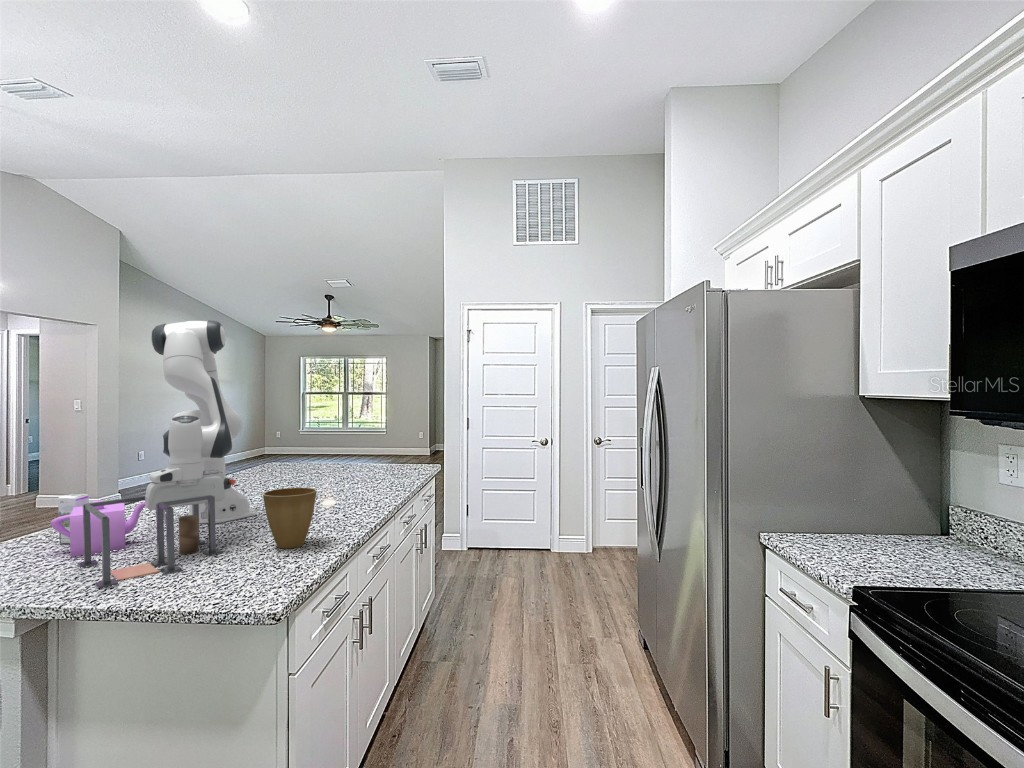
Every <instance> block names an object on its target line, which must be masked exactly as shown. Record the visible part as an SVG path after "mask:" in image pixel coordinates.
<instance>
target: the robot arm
mask: <svg viewBox="0 0 1024 768" xmlns="http://www.w3.org/2000/svg"><path fill="white" fill-rule="evenodd" d="M226 333H227V332H226V330H225V328H224V326H223V325H222V323H221V322H219V321H217V320H212V319H211V320H210V319H209V320H187V321H179V322H172V323H162V324H158V325H156V326H155V327H154V328H152V331H151V335H150V341H151V345H152V347H153V350H154V351H155V353H157V354H159V355H160V356H162V357H163V358H162V359H163V360H162V365H163V366H162V367H163V375H164V379H165V381H166V382H167V383H168V384H169V385H170V386H171V387H173V388H174V389H176V390H178V391H181V392H182V393H184V394H185V396H186V398H188V399H189V400H191V401H193V402H194V404H195V405H196V406H197V407H198V409H189V410H183V411H180V412H178V413H176V414H175V415H173V417H172V418H171V419H170V423H169V429H168V430H166V432H164V433H163V435H162V437H163V451H162V452H163V454H165V455H166V456H168V457H169V459H168V464H167V466H168V467H166V468H163V469H160V470H158V471H155V472H152V473H150V474H149V477H148V479H149V481H150V483H148V485H147V486H146V490H145V495H144V496H145V500H144V502H145V508H146V509H147V510H149V511H156V504H158V503H159V502H165V501H172V500H179V499H187V498H194V497H201V496H208V495H212V496H215V524H221V523H225V522H231V521H236V520H238V519H239V520H240V519H243V518H249V517H252V516H253V517H254V516H257V511H256V509H255V508H251V507H250V503H249V499H248V497H247V496H246V495H244V494H242V493H241V492H239V491H237V490H236V489H234V488H233V487H232V486H235V485H236V483H237V480H236V479H233V478H228V477H226V458H225V456H227V455H228V454H229V453H230V452H231V451H232V449H233V445H234V444H233V443H234V442H233V439H236V438H237V437H239V436H240V435H241V433H242V431H243V428H244V421H243V418H242V416H241V414H240V413H238V412H237V411H236V410H234V408H232V407H231V406H230V404H229V403H228V402H227V401H226V399H225V397H224V395H223V393H222V390H221V386H220V385H221V384H220V380H219V374H218V368H217V363H216V359H215V355H216V354H217V353H218V352H219V351H221V350H222V349H223V348H224V347H225V344H226V341H227V335H226ZM194 504H199V524H208V500H202V501H195V502H188V503H182V504H175V505H169V506H171V507H172V508H178V507H185V506H186V507H187V506H189V508H188V514H187V515H192V505H194ZM164 525H166V511H165V510H164Z"/></svg>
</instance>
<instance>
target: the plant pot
mask: <svg viewBox="0 0 1024 768" xmlns="http://www.w3.org/2000/svg"><path fill="white" fill-rule="evenodd" d="M262 498H263V503H264V508H265V509H264V510H265V513H266V517H267V518H266V519H267V522H268V526H269V528H270V531H271V535H272V537H273V540H274V543H275V544H276V547H277V548H279V549H294V548H295V549H296V548H300V547H302V546H303V545H304V544H305V542H306V539H307V536H308V533H309V530H310V526H311V524H312V520H313V514H314V511H315V504H316V498H317V489H316V488H313V487H287V488H278V489H272V490H268V491H264V492H263V493H262Z"/></svg>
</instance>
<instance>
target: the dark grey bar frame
mask: <svg viewBox="0 0 1024 768" xmlns="http://www.w3.org/2000/svg"><path fill="white" fill-rule="evenodd" d="M202 500H208V523H207V525H208V526H207V527H208V528H207V529H208V550H203V551H202V554H203V555H204V556H206V557H211V556H215V555H216V556H217V555H221V554H223V550H222V549H220V548H217V540H216V537H217V535H216V534H217V532H216V523H215V496H212V495H208V496H201V497H194V498H187V499H179V500H172V501H165V502H159V503H158V504H156V510H155V514H156V516H155V517H156V552H157V555H156V556H157V558H156V560H153V561H150V564H151V565H152V566H153V567H155V568H157V566H158V567H162V566H166V567H163V568H159V572H160V573H162V574H163V575H169V574H174V573H178V572H179V573H180V572H182V571H183V568H182V567H181V566H179V565H176V562H175V561H176V560H175V558H176V557H175V556H176V554H175V520H174V519H175V518H174V517H175V516H174V512H175V511H174V507H171V506H169V505H175V504H182V503H188V502H195V501H202ZM139 501H145V495H142V496H141V495H139V496H135V497H126V498H118V499H111V500H110V499H109V500H104V501H102V502H94V503H91V502H89V503H87V504H84V505H83V538H84V556H83V561H80V562H76V563H77V564H76V566H77V567H78V568H79V567H80V568H79V569H82V568H81V567H85V568H87V567H86V566H90V567H92V566H91V565H95V566H98V565H99V562H98V561H97V560H96V559H92V555H91V525H90V512H91V513H92V514H93V515H95V516H96V517H97V518H99V519H100V520H101V536H102V553H101V566H102V567H101V568H102V570H101V571H102V574H101V575H102V581H101V580H100V581H95V583H94V586H95V585H96V586H97V587H98V588H101V589H103V588H102V587H106V588H108V587H107V586H110V587H113V586H112V585H115V586H118V585H119V581H117V580H116V579H115V578H111V576H112V575H111V570H112V569H111V552H110V529H109V518H108V516H106V515H105V514H103V513H102V512H100V511H99V510H97V509H96V508H94V507H96V506H104V505H111V504H118V503H126V504H127V503H132V502H139ZM164 510H165V511H166V512H165V513H166V524H165V523H164ZM192 515H198V525H199V526H200V523H199V504H194V505H192ZM165 525H166V526H165ZM165 527H166V529H165ZM165 530H166V537H165ZM165 538H166V551H165ZM206 543H207V542H206V541H205V540H203V539H200V538H199V546H202V545H206ZM165 553H166V555H165ZM165 556H166V558H165ZM97 564H98V565H97ZM117 584H118V585H117ZM96 586H95V587H96ZM97 587H96V588H97ZM98 588H97V589H98Z"/></svg>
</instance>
